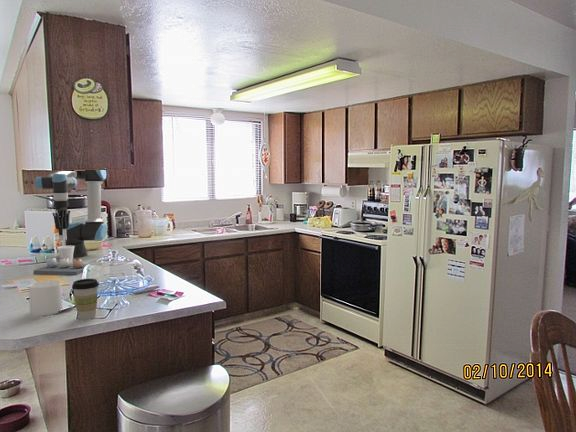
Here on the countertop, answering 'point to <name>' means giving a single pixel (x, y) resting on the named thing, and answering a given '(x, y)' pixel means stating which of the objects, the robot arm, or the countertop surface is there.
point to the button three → (77, 263)
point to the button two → (64, 262)
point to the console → (60, 270)
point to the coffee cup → (86, 297)
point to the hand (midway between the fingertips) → (63, 240)
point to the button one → (51, 262)
